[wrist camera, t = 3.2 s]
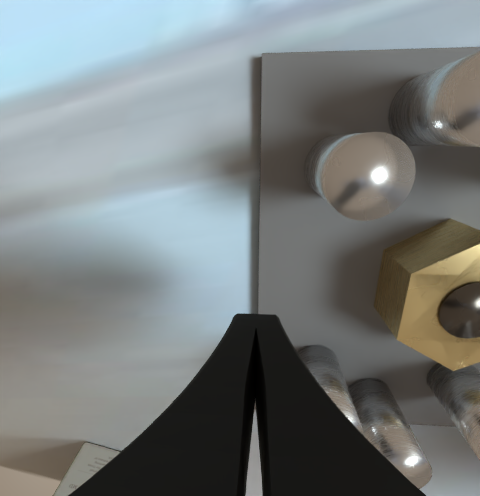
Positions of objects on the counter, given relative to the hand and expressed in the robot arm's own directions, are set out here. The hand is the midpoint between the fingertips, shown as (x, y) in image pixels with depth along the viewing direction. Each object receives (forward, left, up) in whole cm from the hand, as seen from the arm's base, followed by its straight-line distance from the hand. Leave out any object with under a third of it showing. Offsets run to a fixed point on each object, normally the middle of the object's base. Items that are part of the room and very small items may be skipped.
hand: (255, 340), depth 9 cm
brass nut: (-8, 0, -5) cm, 9 cm away
